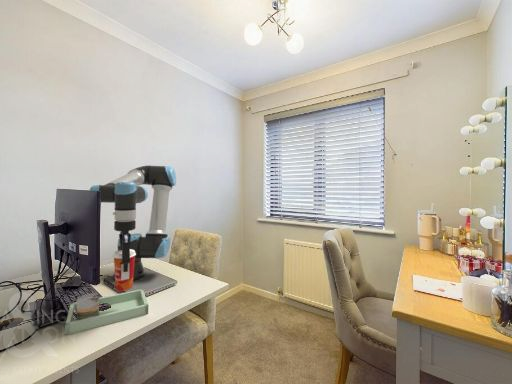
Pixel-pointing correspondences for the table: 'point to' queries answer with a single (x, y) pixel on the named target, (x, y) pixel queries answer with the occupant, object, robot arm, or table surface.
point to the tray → (110, 311)
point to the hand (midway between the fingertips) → (124, 275)
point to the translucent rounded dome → (88, 306)
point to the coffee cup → (120, 284)
